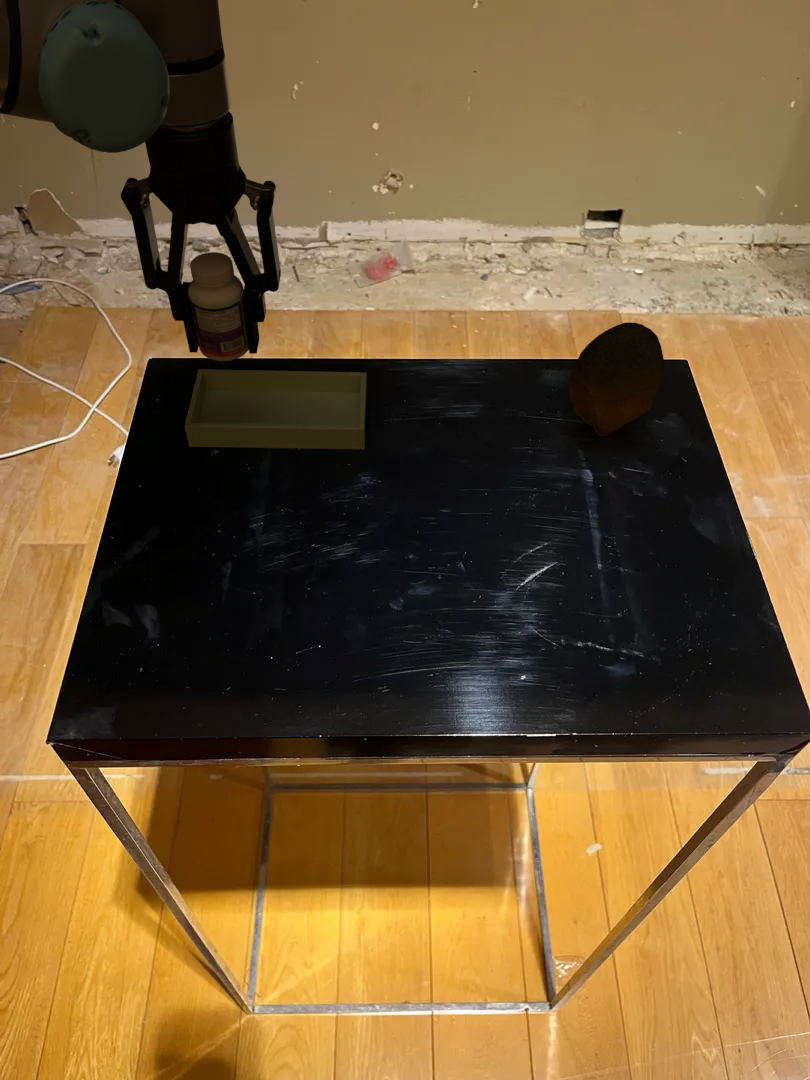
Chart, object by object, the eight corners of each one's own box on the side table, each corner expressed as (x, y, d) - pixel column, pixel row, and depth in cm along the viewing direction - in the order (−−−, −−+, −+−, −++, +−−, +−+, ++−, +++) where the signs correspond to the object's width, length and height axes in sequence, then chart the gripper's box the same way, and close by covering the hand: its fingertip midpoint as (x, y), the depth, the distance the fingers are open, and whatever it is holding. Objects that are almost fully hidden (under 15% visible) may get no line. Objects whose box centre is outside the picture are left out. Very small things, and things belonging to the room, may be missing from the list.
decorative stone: (636, 419, 95) (672, 308, 84) (645, 456, 91) (685, 344, 80) (553, 417, 95) (577, 305, 84) (559, 453, 91) (585, 341, 80)
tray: (189, 446, 90) (184, 426, 88) (202, 389, 97) (198, 368, 94) (364, 449, 91) (364, 429, 88) (366, 392, 97) (366, 372, 95)
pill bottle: (209, 328, 88) (194, 244, 81) (258, 335, 88) (247, 251, 80) (191, 358, 85) (173, 274, 77) (241, 366, 84) (228, 282, 77)
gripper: (301, 97, 71) (316, 325, 89) (84, 91, 70) (142, 321, 88) (294, 136, 66) (311, 369, 84) (61, 130, 65) (128, 366, 83)
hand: (225, 344), depth 86 cm, fingers closed on pill bottle, 5 cm apart
